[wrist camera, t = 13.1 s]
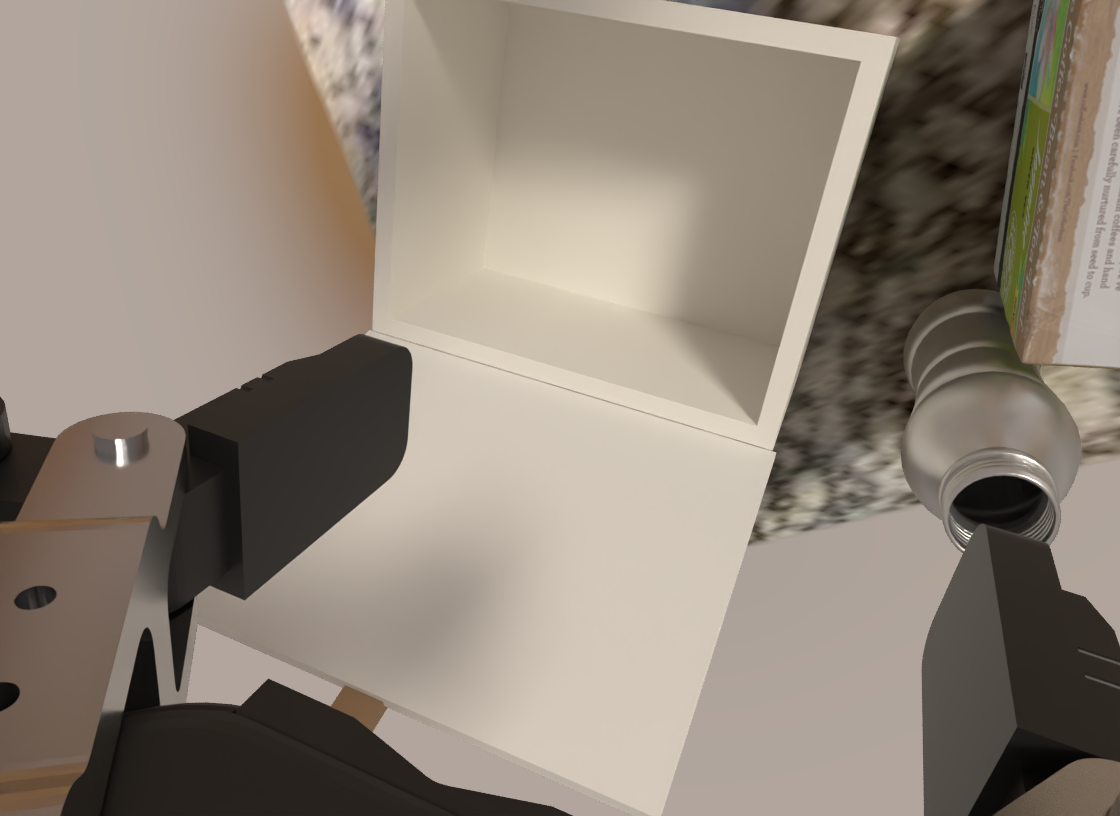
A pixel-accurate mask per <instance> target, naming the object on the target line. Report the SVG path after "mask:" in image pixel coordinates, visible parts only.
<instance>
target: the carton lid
mask: <svg viewBox="0 0 1120 816" xmlns="http://www.w3.org/2000/svg"><path fill="white" fill-rule="evenodd" d="M365 335H367V336H371V337H374V338H377V339H381V340H384V341H387V342H390V343H394V344H397V345H400V346H404V347H406V348H408V350H409V351H410V353H411V356H412V362H413V368H412V384H411V399H410V414H409V430H408V442H407V447H406V451H405V454H404V457H403V460H402V462H401V464H400V466H399V468H398V469H397V471H396V472H395V474H394V475H393V476H392V477H391V478H390V479H389V480H388V481H387V482H386V483H384V484H383V485H382V486H381V487H380V488H378V489H377V490H376V491H375V492H374V493H373V494H371V495H370V496H369V497H368V498H367V499H365V500H364V501H363V502H362V503H361V504H359V505H358V506H357V507H356V508H355V509H353V510H352V511H351V512H350V513H349V514H347V515H346V516H345V517H344V518H343V519H341V520H340V521H339V522H338V523H337V524H336V525H334V526H333V527H332V528H331V529H330V530H328V531H327V532H326V533H325V534H324V535H322V536H321V537H320V538H319V539H318V540H316V541H315V542H314V543H313V544H312V545H310V546H309V547H308V548H307V549H306V550H304V551H303V552H302V553H301V554H300V555H299V556H297V557H296V558H295V559H294V560H293V561H291V562H290V563H289V564H288V565H287V566H285V567H284V568H283V569H282V570H281V571H279V572H278V573H277V574H276V575H275V576H273V577H272V578H271V579H270V580H269V581H267V582H266V583H265V584H264V585H263V586H262V587H260V588H259V589H258V590H257V591H256V592H254V593H253V594H252V595H251V596H250V597H248V598H247V599H246V600H242V599H240V598H238V597H235V596H233V595H230V594H228V593H226V592H223V591H221V590H219V589H216V588H214V587H212V586H209V587H207V588H206V589H205V590H204V591H202V592H201V593H200V594H198V604H199V617H198V624H199V625H202V626H204V627H206V628H209V629H211V630H213V631H215V632H218V633H220V634H222V635H224V636H227V637H229V638H231V639H234V640H236V641H238V642H240V643H243V644H245V645H247V646H249V647H252V648H254V649H256V650H258V651H261V652H263V653H265V654H267V655H270V656H272V657H275V658H277V659H279V660H281V661H283V662H286V663H288V664H290V665H292V666H295V667H297V668H299V669H302V670H304V671H306V672H308V673H311V674H313V675H315V676H318V677H320V678H322V679H325V680H327V681H329V682H331V683H333V684H336V685H338V686H340V687H342V688H343V689H342V691H341V692H340V693H339V695H338V697H337V698H336V700H335V701H334V702H333V704H332V706H331V707H332V708H334V709H337V710H339V711H341V712H343V713H346V714H348V715H350V716H352V717H354V718H356V719H357V720H358V721H359V722H361V723H362V724H363V725H364V726H365V727H367V728H368V729H369V730H370V731H372V732H373V730H374V729H375V727H376V725H377V724H378V722H379V720H380V719H381V717H382V716H383V714H384V712H385V711H386V709H387V707H388V708H390V709H392V710H395V711H397V712H399V713H401V714H404V715H406V716H409V717H410V718H413V719H415V720H418V721H420V722H422V723H424V724H426V725H429V726H431V727H433V728H435V729H438V730H440V731H442V732H444V733H447V734H449V735H451V736H454V737H456V738H458V739H460V740H463V741H465V742H467V743H469V744H472V745H474V746H476V747H479V748H481V749H483V750H485V751H488V752H490V753H492V754H494V755H497V756H499V757H501V758H503V759H506V760H508V761H510V762H513V763H515V764H517V765H519V766H522V767H524V768H526V769H528V770H531V771H533V772H535V773H538V774H540V775H542V776H544V777H547V778H549V779H551V780H553V781H556V782H558V783H560V784H562V785H565V786H567V787H570V788H572V789H574V790H576V791H578V792H581V793H583V794H585V795H588V796H590V797H592V798H594V799H597V800H599V801H601V802H604V803H606V804H608V805H610V806H613V807H615V808H617V809H619V810H622V811H624V812H626V813H628V814H631V815H633V816H661V814H662V812H663V808H664V805H665V802H666V799H667V796H668V793H669V789H670V786H671V783H672V780H673V777H674V774H675V771H676V768H677V764H678V761H679V758H680V755H681V752H682V749H683V745H684V742H685V739H686V736H687V733H688V730H689V727H690V723H691V721H692V717H693V714H694V711H695V708H696V705H697V702H698V699H699V695H700V692H701V689H702V686H703V683H704V679H705V677H706V673H707V670H708V667H709V664H710V661H711V657H712V654H713V651H714V648H715V645H716V642H717V639H718V635H719V633H720V629H721V626H722V623H723V620H724V617H725V614H726V610H727V607H728V604H729V601H730V598H731V595H732V592H733V589H734V585H735V582H736V579H737V576H738V573H739V569H740V567H741V563H742V560H743V557H744V554H745V551H746V548H747V545H748V541H749V538H750V535H751V532H752V529H753V526H754V523H755V519H756V516H757V513H758V510H759V507H760V504H761V501H762V497H763V494H764V491H765V488H766V485H767V482H768V479H769V476H770V472H771V469H772V466H773V463H774V460H775V456H776V452H773V451H769V450H766V449H763V448H759V447H756V446H753V445H750V444H746V443H743V442H740V441H736V440H733V439H730V438H726V437H723V436H720V435H716V434H713V433H710V432H706V431H703V430H700V429H696V428H693V427H690V426H686V425H683V424H680V423H676V422H673V421H670V420H666V419H663V418H660V417H656V416H653V415H650V414H646V413H643V412H640V411H637V410H633V409H630V408H627V407H623V406H620V405H617V404H613V403H610V402H607V401H603V400H600V399H597V398H593V397H590V396H587V395H583V394H580V393H577V392H573V391H570V390H567V389H563V388H560V387H557V386H553V385H550V384H547V383H543V382H540V381H537V380H533V379H530V378H527V377H524V376H520V375H517V374H514V373H510V372H507V371H504V370H500V369H497V368H494V367H490V366H487V365H484V364H480V363H477V362H474V361H470V360H467V359H464V358H460V357H457V356H454V355H450V354H447V353H444V352H440V351H437V350H434V349H430V348H427V347H424V346H420V345H417V344H414V343H411V342H407V341H404V340H401V339H397V338H394V337H391V336H387V335H384V334H380V333H377V332H373V331H371V330H369V331H368V332H367V333H366V334H365Z"/></svg>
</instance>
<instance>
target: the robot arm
mask: <svg viewBox="0 0 1120 816" xmlns="http://www.w3.org/2000/svg"><path fill="white" fill-rule="evenodd" d="M412 368H413V362H412V356H411V353H410V351H409V350H408V348H406V347H404V346H400V345H397V344H394V343H390V342H387V341H384V340H381V339H377V338H374V337H371V336H367V335H364V334H358V335H356V336H354V337H352V338H350V339H348V340H346V341H344V342H342V343H340V344H338V345H337V346H335V347H333V348H331V349H329V350H327V351H325V352H323V353H321V354H319V355H315V356H311V357H306V358H302V359H298V360H293V361H289V362H286V363H284V364H282V365H280V366H278V367H276V368H275V369H272V370H271V371H269V372H267V373H265V374H263V375H262V378H258V377H257V378H255V379H253V380H251V381H249V382H247V383H245V384H243V385H242V386H241V389H237V388H235V389H233V390H232V391H230V392H228V393H226V394H224V395H222V396H220V397H218V398H216V399H214V400H212V401H210V402H208V403H206V404H204V405H203V406H200V407H199V408H197V409H195V410H192V411H191V412H189V413H187V414H185V415H183V416H181V417H179V418H177V419H175V420H172V419H170V418H167V417H164V416H161V415H156V414H152V413H143V412H119V413H112V414H106V415H100V416H96V417H92V418H89V419H86V420H83V421H80V422H78V423H76V424H74V425H72V426H70V427H68V428H67V429H65V430H64V431H63V432H62V433H60V435H58V437H57V438H48V437H41V436H33V435H25V434H18V433H11V432H10V429H9V423H8V418H7V413H6V407H5V403H4V401H3V400H2V398H1V397H0V816H572V815H570V814H568V813H566V812H563V811H561V810H559V809H556V808H554V807H551V806H547V805H542V804H537V803H532V802H527V801H521V800H516V799H511V798H506V797H500V796H496V795H491V794H486V793H481V792H476V791H471V790H466V789H461V788H455V787H450V786H446V785H443V784H439V783H437V782H435V781H432V780H431V779H430V778H428V777H426V776H425V775H424V774H423V773H422V772H421V771H419V770H418V769H417V768H416V767H414V766H413V765H412V764H411V763H409V762H408V761H407V760H406V759H405V758H403V757H402V756H401V755H400V754H398V753H397V752H396V751H395V750H394V749H392V748H391V747H390V746H389V745H387V744H386V743H385V742H384V741H383V740H381V739H380V738H379V737H378V736H376V735H375V734H374V733H373V732H372V731H370V730H369V729H368V728H367V727H365V726H364V725H363V724H362V723H361V722H359V721H358V720H357V719H356V718H354V717H352V716H350V715H348V714H346V713H343V712H341V711H339V710H337V709H334V708H332V707H330V706H328V705H326V704H323V703H321V702H319V701H317V700H314V699H312V698H310V697H308V696H306V695H303V694H301V693H299V692H297V691H295V690H292V689H290V688H288V687H286V686H283V685H281V684H279V683H277V682H275V681H272V680H270V679H268V680H267V681H266V682H265V683H264V684H262V685H261V686H260V688H259V689H257V690H256V692H254V693H253V694H252V696H250V698H248V699H247V700H246V701H245V702H244V703H243V704H242V705H241V706H237V705H232V704H219V703H186V698H187V692H188V685H189V678H190V672H191V664H192V658H193V651H194V644H195V638H196V631H197V624H198V617H199V604H198V594H200V593H201V592H202V591H204V590H205V589H206V588H207V587H209V586H212V587H214V588H216V589H219V590H221V591H223V592H226V593H228V594H230V595H233V596H235V597H238V598H240V599H242V600H246V599H247V598H248V597H250V596H251V595H252V594H253V593H254V592H256V591H257V590H258V589H259V588H260V587H262V586H263V585H264V584H265V583H266V582H267V581H269V580H270V579H271V578H272V577H273V576H275V575H276V574H277V573H278V572H279V571H281V570H282V569H283V568H284V567H285V566H287V565H288V564H289V563H290V562H291V561H293V560H294V559H295V558H296V557H297V556H299V555H300V554H301V553H302V552H303V551H304V550H306V549H307V548H308V547H309V546H310V545H312V544H313V543H314V542H315V541H316V540H318V539H319V538H320V537H321V536H322V535H324V534H325V533H326V532H327V531H328V530H330V529H331V528H332V527H333V526H334V525H336V524H337V523H338V522H339V521H340V520H341V519H343V518H344V517H345V516H346V515H347V514H349V513H350V512H351V511H352V510H353V509H355V508H356V507H357V506H358V505H359V504H361V503H362V502H363V501H364V500H365V499H367V498H368V497H369V496H370V495H371V494H373V493H374V492H375V491H376V490H377V489H378V488H380V487H381V486H382V485H383V484H384V483H386V482H387V481H388V480H389V479H390V478H391V477H392V476H393V475H394V474H395V472H396V471H397V469H398V468H399V466H400V464H401V462H402V460H403V457H404V454H405V451H406V447H407V442H408V430H409V414H410V399H411V384H412ZM922 709H923V710H922V712H923V713H922V714H923V772H924V773H923V775H924V816H1120V646H1119V643H1118V640H1117V637H1116V634H1115V631H1114V630H1113V629H1112V627H1111V626H1110V625H1109V624H1108V623H1107V622H1106V620H1105V619H1104V618H1103V617H1102V616H1101V615H1100V614H1099V612H1098V611H1097V610H1096V609H1095V608H1094V607H1093V605H1092V604H1091V603H1090V602H1089V601H1088V600H1087V598H1086V597H1084V596H1080V595H1077V594H1074V593H1071V592H1068V591H1064V590H1062V589H1061V586H1060V582H1059V578H1058V575H1057V571H1056V568H1055V564H1054V560H1053V556H1052V553H1051V549H1050V547H1049V545H1048V544H1047V543H1045V542H1042V541H1039V540H1035V539H1032V538H1029V537H1026V536H1022V535H1019V534H1016V533H1012V532H1009V531H1006V530H1002V529H999V528H996V527H993V526H989V525H986V524H980V525H979V526H978V527H977V528H976V529H975V531H974V532H973V534H972V536H971V538H970V540H969V542H968V544H967V546H966V548H965V550H964V553H963V555H962V557H961V559H960V562H959V564H958V566H957V568H956V570H955V573H954V575H953V577H952V580H951V581H950V584H949V586H948V588H947V590H946V593H945V595H944V597H943V599H942V601H941V604H940V606H939V608H938V610H937V612H936V615H935V617H934V619H933V622H932V624H931V627H930V630H929V633H928V636H927V640H926V644H925V649H924V654H923V660H922Z"/></svg>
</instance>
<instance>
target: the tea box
mask: <svg viewBox="0 0 1120 816" xmlns="http://www.w3.org/2000/svg"><path fill="white" fill-rule="evenodd" d="M994 273H995V278H996V282H997V284H998V288H999V292H1000V296H1001V299H1002V303H1003V305H1004V309H1005V315H1006V319H1007V321H1008V323H1009V327H1010V332H1011V336H1012V340H1013V343H1014V346H1015V349H1016V351H1017V353H1018V355H1019V358H1020V360H1021V362H1022V363H1025V364H1036V365H1056V366H1073V367H1089V368H1108V369H1120V0H1034V1H1033V6H1032V12H1031V18H1030V25H1029V32H1028V39H1027V45H1026V51H1025V58H1024V64H1023V70H1022V77H1021V84H1020V91H1019V98H1018V106H1017V112H1016V118H1015V125H1014V132H1013V139H1012V144H1011V150H1010V157H1009V164H1008V173H1007V180H1006V186H1005V192H1004V199H1003V205H1002V212H1001V220H1000V227H999V234H998V241H997V248H996V255H995V262H994Z"/></svg>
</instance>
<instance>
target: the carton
mask: <svg viewBox="0 0 1120 816" xmlns="http://www.w3.org/2000/svg"><path fill="white" fill-rule="evenodd" d="M899 41H900V38H898V37H893V36H886V35H880V34H874V33H867V32H861V31H855V30H848V29H842V28H836V27H829V26H823V25H817V24H810V23H804V22H798V21H792V20H785V19H779V18H773V17H766V16H760V15H754V14H747V13H741V12H735V11H728V10H722V9H716V8H709V7H703V6H697V5H690V4H684V3H678V2H672V1H665V0H385V18H384V43H383V68H382V94H381V119H380V144H379V169H378V194H377V219H376V244H375V270H374V295H373V321H372V330H373V331H376V332H380V333H383V334H386V335H390V336H393V337H396V338H400V339H403V340H406V341H410V342H413V343H416V344H420V345H423V346H426V347H429V348H433V349H436V350H439V351H443V352H446V353H449V354H453V355H456V356H459V357H463V358H466V359H469V360H473V361H476V362H479V363H483V364H486V365H489V366H493V367H496V368H499V369H503V370H506V371H509V372H513V373H516V374H519V375H523V376H526V377H529V378H533V379H536V380H539V381H543V382H546V383H549V384H553V385H556V386H559V387H563V388H566V389H569V390H573V391H576V392H579V393H583V394H586V395H589V396H592V397H596V398H599V399H602V400H606V401H609V402H612V403H616V404H619V405H622V406H626V407H629V408H632V409H636V410H639V411H642V412H646V413H649V414H652V415H656V416H659V417H662V418H666V419H669V420H672V421H676V422H679V423H682V424H686V425H689V426H692V427H696V428H699V429H702V430H706V431H709V432H712V433H716V434H719V435H722V436H726V437H729V438H732V439H736V440H739V441H742V442H746V443H749V444H752V445H755V446H759V447H762V448H765V449H769V450H772V451H773V448H774V445H775V442H776V439H777V436H778V433H779V430H780V427H781V425H782V422H783V419H784V416H785V413H786V410H787V407H788V404H789V401H790V398H791V395H792V392H793V389H794V386H795V383H796V380H797V377H798V374H799V372H800V369H801V366H802V362H803V359H804V356H805V352H806V349H807V346H808V342H809V339H810V336H811V333H812V329H813V326H814V323H815V319H816V316H817V313H818V309H819V306H820V303H821V299H822V296H823V293H824V289H825V286H826V283H827V280H828V276H829V273H830V270H831V266H832V263H833V260H834V256H835V253H836V250H837V246H838V243H839V240H840V236H841V233H842V230H843V227H844V223H845V220H846V217H847V213H848V210H849V207H850V203H851V200H852V197H853V193H854V190H855V187H856V183H857V180H858V177H859V174H860V170H861V167H862V164H863V160H864V157H865V154H866V150H867V147H868V144H869V140H870V137H871V134H872V130H873V127H874V124H875V121H876V117H877V114H878V111H879V107H880V104H881V101H882V97H883V94H884V91H885V87H886V84H887V81H888V77H889V74H890V71H891V68H892V64H893V61H894V58H895V54H896V51H897V48H898V44H899Z"/></svg>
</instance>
